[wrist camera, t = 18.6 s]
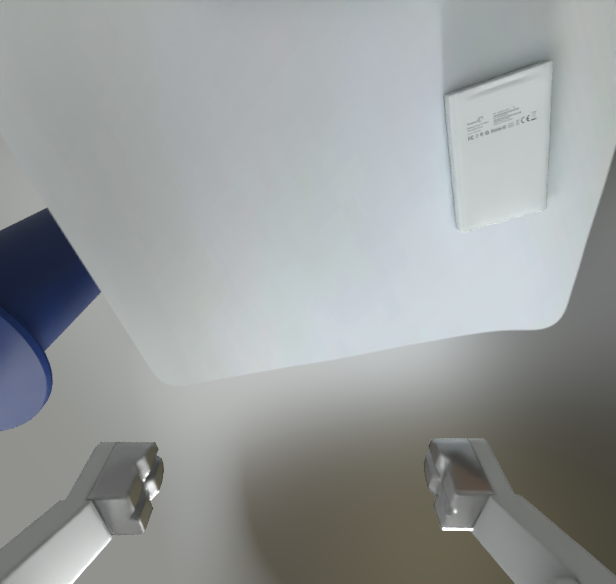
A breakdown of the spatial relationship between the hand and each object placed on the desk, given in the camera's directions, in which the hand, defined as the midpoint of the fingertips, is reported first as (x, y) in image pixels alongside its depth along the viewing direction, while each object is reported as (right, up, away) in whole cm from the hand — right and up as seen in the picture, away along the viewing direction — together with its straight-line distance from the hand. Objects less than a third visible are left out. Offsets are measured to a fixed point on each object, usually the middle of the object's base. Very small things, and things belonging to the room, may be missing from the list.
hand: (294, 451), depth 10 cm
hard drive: (+18, +18, +22) cm, 33 cm away
